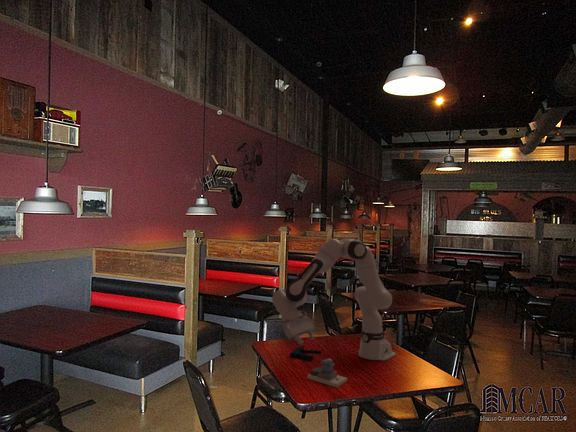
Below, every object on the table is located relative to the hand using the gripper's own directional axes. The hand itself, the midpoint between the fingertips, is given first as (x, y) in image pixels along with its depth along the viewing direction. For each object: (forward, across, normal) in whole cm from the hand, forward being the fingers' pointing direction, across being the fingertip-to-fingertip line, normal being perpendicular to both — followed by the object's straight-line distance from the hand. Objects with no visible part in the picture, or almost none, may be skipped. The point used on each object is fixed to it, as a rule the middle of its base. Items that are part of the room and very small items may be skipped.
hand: (307, 341), depth 201 cm
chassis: (+20, -1, +2) cm, 20 cm away
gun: (0, +25, +24) cm, 35 cm away
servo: (+19, -1, +1) cm, 19 cm away
